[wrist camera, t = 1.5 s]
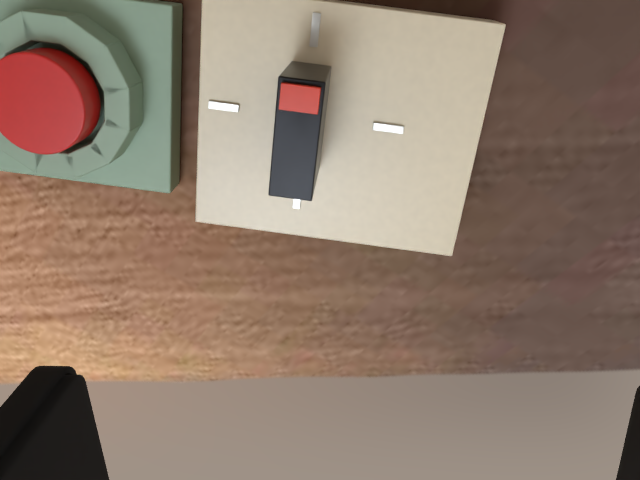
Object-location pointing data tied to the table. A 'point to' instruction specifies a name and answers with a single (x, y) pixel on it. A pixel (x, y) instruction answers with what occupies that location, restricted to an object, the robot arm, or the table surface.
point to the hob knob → (299, 129)
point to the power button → (46, 100)
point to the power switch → (108, 87)
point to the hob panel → (345, 118)
